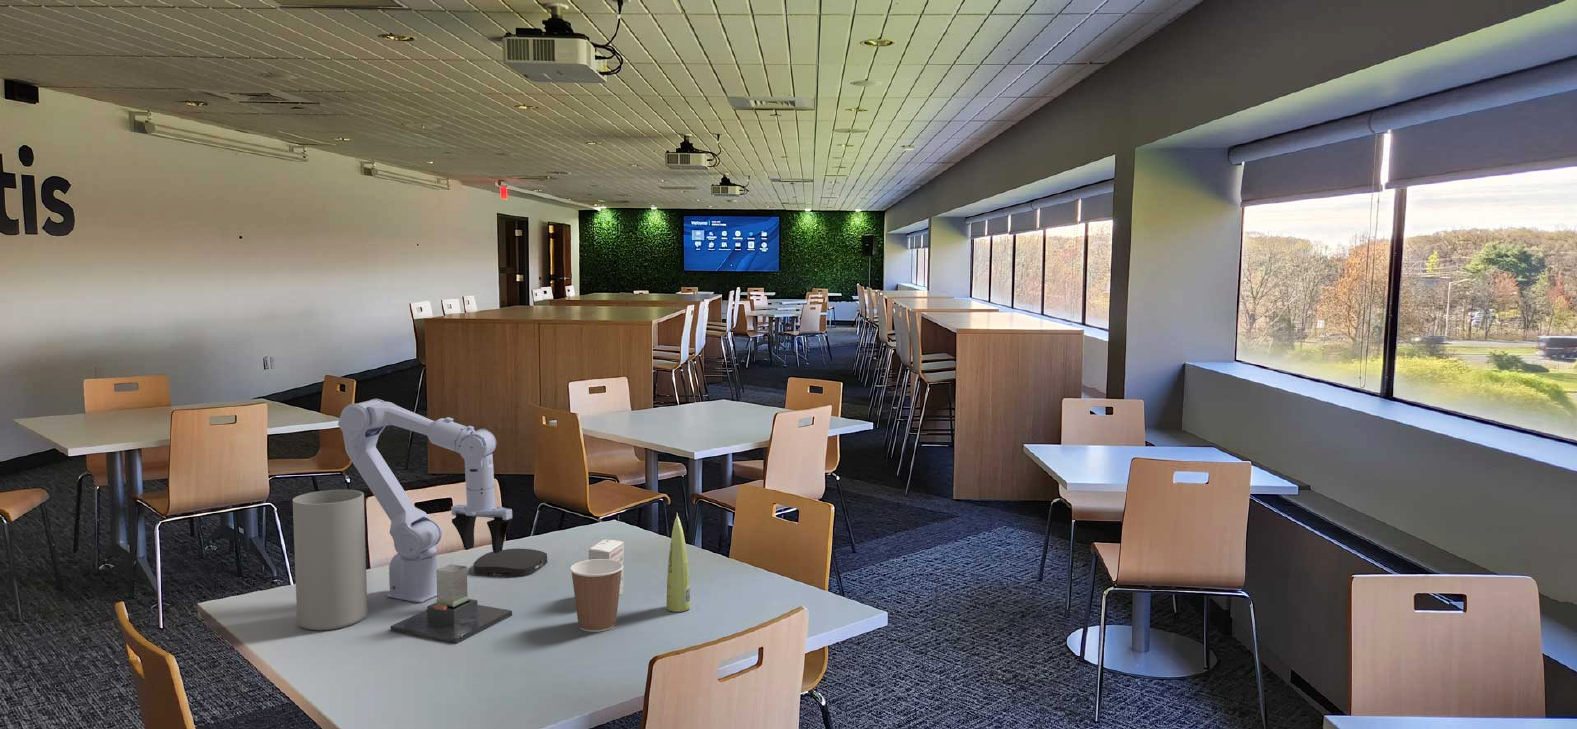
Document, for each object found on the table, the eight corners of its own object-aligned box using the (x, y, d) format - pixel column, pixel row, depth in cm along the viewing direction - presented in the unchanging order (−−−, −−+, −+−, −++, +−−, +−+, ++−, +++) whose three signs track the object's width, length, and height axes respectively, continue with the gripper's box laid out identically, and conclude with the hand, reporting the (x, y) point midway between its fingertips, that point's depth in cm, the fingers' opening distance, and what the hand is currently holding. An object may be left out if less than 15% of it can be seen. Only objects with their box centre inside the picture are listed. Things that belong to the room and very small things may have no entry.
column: (436, 604, 177) (435, 570, 177) (451, 598, 181) (450, 564, 181) (453, 607, 176) (452, 572, 175) (468, 600, 180) (467, 566, 179)
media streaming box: (496, 557, 223) (496, 546, 223) (552, 561, 221) (552, 549, 221) (467, 576, 209) (467, 563, 209) (527, 579, 207) (527, 567, 207)
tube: (659, 608, 188) (659, 516, 187) (677, 602, 192) (677, 511, 191) (677, 614, 185) (677, 521, 183) (695, 608, 189) (696, 516, 187)
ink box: (609, 606, 189) (608, 551, 188) (586, 604, 190) (586, 549, 189) (624, 593, 198) (624, 539, 197) (603, 591, 199) (603, 538, 198)
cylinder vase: (282, 626, 176) (277, 500, 174) (334, 605, 188) (330, 487, 186) (331, 635, 172) (326, 506, 170) (381, 613, 184) (378, 493, 181)
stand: (390, 631, 174) (390, 608, 174) (449, 604, 189) (449, 583, 189) (456, 643, 169) (455, 619, 168) (512, 615, 183) (511, 593, 183)
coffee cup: (633, 620, 181) (632, 562, 180) (606, 638, 172) (606, 577, 171) (588, 613, 185) (588, 556, 184) (560, 631, 175) (559, 571, 174)
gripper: (439, 489, 191) (443, 552, 192) (495, 493, 185) (498, 558, 186) (463, 482, 197) (466, 543, 198) (517, 486, 192) (520, 549, 193)
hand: (483, 550), depth 193 cm, fingers open, 7 cm apart
